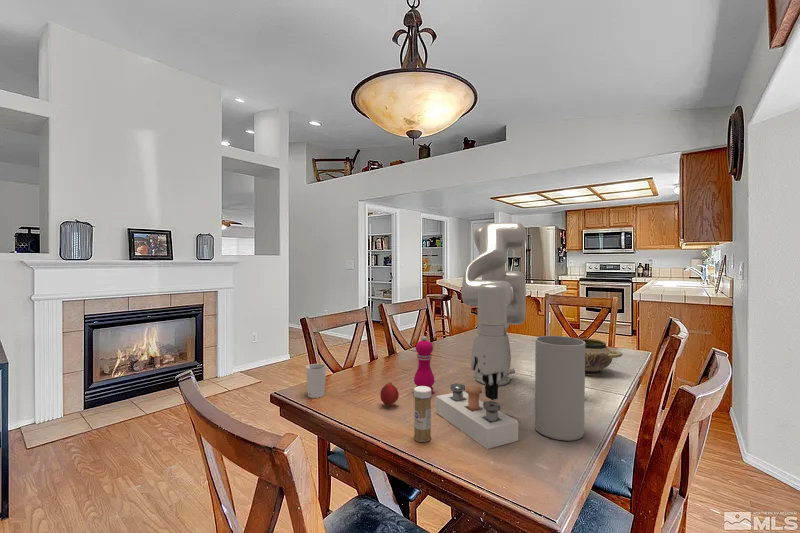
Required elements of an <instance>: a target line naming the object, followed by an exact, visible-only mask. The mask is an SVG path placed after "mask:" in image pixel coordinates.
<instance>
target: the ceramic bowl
mask: <svg viewBox="0 0 800 533" xmlns="http://www.w3.org/2000/svg"><path fill="white" fill-rule="evenodd" d="M579 339H580V340H583V341H584V342H585V376H599V375H601V374H602V371H601V370H604V369H606V368H608V367H609V366H610V364H611V363H612V361H613V359H616V358H620V357H622V356H623V353H622V352H621V351H618V350H613V349H610V348H608V347H607V343H606V342H605V341H603V340H601V339H594V338H579Z"/></svg>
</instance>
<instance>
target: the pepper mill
mask: <svg viewBox="0 0 800 533" xmlns="http://www.w3.org/2000/svg"><path fill="white" fill-rule="evenodd" d="M433 346H434V345H433V344H432V342H430V340H428V339H427V336H425V335H423V336H421V340H419V341H418V342H417V343H416V345H415V351H416V353H417V354H416V355H417V356H416V359H418V365H417V366H418V367H417V370H416V372H415V374H414V377H413V383H414V385H415V386H416V387H418V386H427V387H429V388H431V395H433V394H434V387H433V385H434V384H435V382H436V381H435V375H434V373H433V371H432V368H431V359H432V352H433V350H434V347H433Z"/></svg>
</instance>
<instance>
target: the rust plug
mask: <svg viewBox="0 0 800 533" xmlns="http://www.w3.org/2000/svg"><path fill="white" fill-rule="evenodd" d="M482 389H483V388H482V387H481V386H478V385H467V386H465V393H467V394H468V409H469V410H470V411H472V412H473V411H477V410H479V400H480V395H481V394H482V393H483V392H482V391H483V390H482Z"/></svg>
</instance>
